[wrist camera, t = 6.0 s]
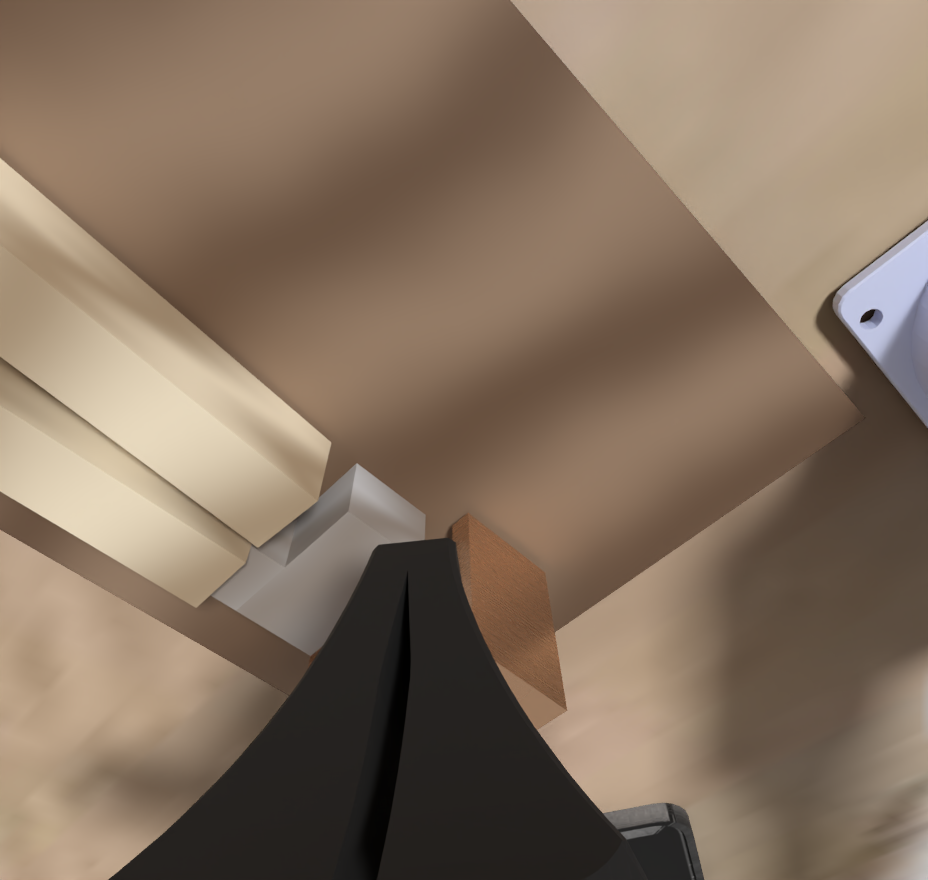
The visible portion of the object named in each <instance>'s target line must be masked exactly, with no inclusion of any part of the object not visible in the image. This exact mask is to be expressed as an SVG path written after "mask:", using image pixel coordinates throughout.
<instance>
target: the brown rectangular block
mask: <svg viewBox="0 0 928 880" xmlns="http://www.w3.org/2000/svg"><path fill="white" fill-rule="evenodd" d="M452 540H453V541H454V542H456V548H457V554H458V560H459V567H460V573H461V579H462V584H463V587H464V591H465V594H466V596H467V599H468V602H469V605H470V607H471V610H472V612H473V614H474V617H475V619H476V622H477V624H478V627H479V629H480V631H481V633H482V635H483V638H484V640H485V642H486V644H487V646H488V648H489V650H490V652H491V654H492V656H493V658H494V660H495V662H496V664H497V666H498V668H499V669H500V671H501V673H502V675H503V677H504V678H505V680H506V682H507V684H508V686H509V687H510V689H511V691H512V692H513V694H514V695H515V697H516V699H517V700H518V702H519V704H520V705H521V707H522V708H523V710H524V712H525V713H526V715H527V716H528V718H529V719H530V721H531V722H532V724H533V725H534V727H535V728H536V730H537V729H539V728H540V727H542V726H544V725H545V724H547V723H548V722H550V721H551V720H553V719H555V718H556V717H558V716H559V715H561V714H562V713H564V712H566V711H567V707H566V701H565V694H564V688H563V682H562V676H561V669H560V663H559V657H558V650H557V644H556V638H555V631H554V625H553V619H552V612H551V606H550V600H549V594H548V587H547V581H546V575H545V572H544V571H543V570H541V569H540V568H539V567H538V566H536V565H535V564H534V563H532V562H531V561H530V560H529V559H527V558H526V557H525V556H523V555H522V554H521V553H520V552H518V551H517V550H516V549H514V548H513V547H512V546H510V545H509V544H508V543H507V542H505V541H504V540H503V539H501V538H500V537H499V536H498V535H496V534H495V533H494V532H492V531H491V530H490V529H489V528H487V527H486V526H485V525H483V524H482V523H481V522H480V521H478V520H477V519H476V518H474V517H473V516H472V515H471V514H469V513H467V514H466V515H465V516H464V517H462V518H461V519H460V520H459V521H458V522H456V523H455V524H454V525H453V526H452ZM321 648H322V647H321ZM321 648H320V649H321ZM320 649H319V650H317V651H316V652H315V653H314V654H312V655H311V656H310V660H309V665H308V668H309V666H310V665H311V663H312V662H313V660H314V659H315V657H316V656H317V654H318V652H319V651H320Z"/></svg>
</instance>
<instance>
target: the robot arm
mask: <svg viewBox="0 0 928 880" xmlns="http://www.w3.org/2000/svg"><path fill="white" fill-rule="evenodd" d="M833 309H834V312H835V314H836V315H837V316H838V318H839V319H840V320H841V321H842V323H843V324H844V325H845V326H846V328H847V329H848V330H849V331H850V332H851V334H852V335H853V336H854V337H855V339H856V340H857V341H858V342H859V344H860V345H861V346H862V347H863V349H864V350H865V351H866V352H867V354H868V355H869V356H870V357H871V359H872V360H873V361H874V362H875V364H876V365H877V366H878V367H879V368H880V370H881V371H882V372H883V373H884V375H885V376H886V377H887V378H888V380H889V381H890V382H891V383H892V385H893V386H894V387H895V388H896V390H897V391H898V392H899V393H900V395H901V396H902V397H903V398H904V399H905V401H906V402H907V403H908V404H909V406H910V407H911V408H912V409H913V411H914V412H915V413H916V414H917V416H918V417H919V418H920V419H921V421H922V422H923V423H924V424H925V426H926V427H927V428H928V221H927V222H925V223H924V224H923V225H921V226H920V227H919V228H918V229H916V230H915V231H914V232H912V233H911V234H910V235H908V236H907V237H906V238H905V239H903V240H902V241H901V242H899V243H898V244H897V245H895V246H894V247H893V248H892V249H890V250H889V251H888V252H886V253H885V254H884V255H882V256H881V257H880V258H879V259H877V260H876V261H875V262H873V263H872V264H871V265H869V266H868V267H867V268H866V269H864V270H863V271H862V272H860V273H859V274H858V275H856V276H855V277H854V278H853V279H851V280H850V281H849V282H847V283H846V284H845V285H843V286H842V287H841V288H840V289H839V291H838V292H837V293H836V295H835V297H834V299H833ZM871 309H875V313H874V315H873V317H872V318H871V319H870V320H868V321H866V322H864V323H860V320H861V317H862V315H863V314H864V313H865V312H867V311H869V310H871ZM109 880H648V879H647V877H646V875H645V873H644V871H643V869H642V867H641V865H640V864H639V862H638V860H637V858H636V856H635V855H634V853H633V851H632V849H631V847H630V845H629V843H628V841H627V840H626V838H625V837H624V836H623V835H622V834H621V833H620V832H619V831H618V829H617V828H616V827H615V826H614V825H613V824H612V823H611V822H610V821H609V820H608V819H607V818H606V817H605V815H604V814H603V813H602V812H601V811H600V810H599V809H598V807H597V806H596V805H595V804H594V803H593V802H592V801H591V800H590V798H589V797H588V796H587V795H586V794H585V792H584V791H583V790H582V789H581V788H580V786H579V785H578V784H577V783H576V781H575V780H574V779H573V778H572V777H571V775H570V774H569V773H568V772H567V770H566V769H565V768H564V766H563V765H562V764H561V762H560V761H559V760H558V758H557V757H556V756H555V754H554V753H553V752H552V750H551V749H550V747H549V746H548V745H547V743H546V742H545V741H544V739H543V738H542V737H541V735H540V734H539V733H538V731H537V730H536V728H535V727H534V725H533V724H532V722H531V721H530V719H529V718H528V716H527V715H526V713H525V712H524V710H523V708H522V707H521V705H520V704H519V702H518V700H517V699H516V697H515V695H514V694H513V692H512V691H511V689H510V687H509V686H508V684H507V682H506V680H505V678H504V677H503V675H502V673H501V671H500V669H499V668H498V666H497V664H496V662H495V660H494V658H493V656H492V654H491V652H490V650H489V648H488V646H487V644H486V642H485V640H484V638H483V635H482V633H481V631H480V629H479V627H478V624H477V622H476V619H475V617H474V614H473V612H472V610H471V607H470V605H469V602H468V599H467V596H466V594H465V591H464V587H463V584H462V579H461V573H460V567H459V560H458V554H457V548H456V542H454V541H453V540H451V539H450V538H439V539H430V540H420V541H410V542H400V543H390V544H380V545H378V546H377V547H376V548H375V549H374V550H373V551H372V554H371V556H370V558H369V561H368V563H367V565H366V567H365V569H364V572H363V574H362V576H361V578H360V580H359V582H358V584H357V586H356V588H355V590H354V592H353V594H352V595H351V597H350V599H349V601H348V603H347V605H346V607H345V609H344V610H343V612H342V614H341V616H340V617H339V619H338V621H337V623H336V624H335V626H334V628H333V630H332V631H331V633H330V635H329V637H328V638H327V640H326V642H325V643H324V645H323V646H322V648H321V649H320V651H319V652H318V654H317V656H316V657H315V659H314V660H313V662H312V663H311V665H310V666H309V668H308V669H307V671H306V672H305V674H304V676H303V677H302V679H301V680H300V681H299V683H298V684H297V686H296V687H295V688H294V690H293V691H292V693H291V694H290V695H289V697H288V698H287V700H286V701H285V702H284V704H283V705H282V706H281V707H280V709H279V710H278V711H277V713H276V714H275V715H274V716H273V718H272V719H271V720H270V722H269V723H268V724H267V725H266V727H265V728H264V729H263V730H262V731H261V733H260V734H259V735H258V736H257V737H256V738H255V740H254V741H253V742H252V743H251V744H250V745H249V747H248V748H247V749H246V750H245V751H244V752H243V754H242V755H241V756H240V757H239V758H238V759H237V760H236V762H235V763H234V764H233V765H232V766H231V767H230V768H229V769H228V770H227V771H226V772H225V774H224V775H223V776H222V777H221V778H220V779H219V780H218V781H217V782H216V783H215V784H214V785H213V786H212V787H211V788H210V789H209V790H208V791H207V792H206V793H205V794H204V795H203V796H202V797H201V798H200V799H199V800H198V801H197V802H196V803H195V804H194V805H193V806H192V807H191V808H190V809H189V810H188V811H187V812H186V813H185V814H184V815H183V816H182V817H181V818H180V819H179V820H177V821H176V822H175V823H174V824H173V825H172V826H171V827H170V828H169V829H168V830H167V831H166V832H165V833H163V834H162V835H161V836H160V837H159V838H158V839H156V840H155V841H154V842H153V843H152V844H150V845H149V846H148V847H147V848H146V849H145V850H143V851H142V852H141V853H140V854H139V855H137V856H136V857H135V858H134V859H133V860H132V861H130V862H129V863H128V864H127V865H126V866H124V867H123V868H122V869H121V870H120V871H119V872H117V873H116V874H115V875H114V876H112V877H111V878H110V879H109Z"/></svg>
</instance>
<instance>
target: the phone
mask: <svg viewBox="0 0 928 880" xmlns="http://www.w3.org/2000/svg"><path fill="white" fill-rule="evenodd" d="M603 814H604V815H605V817H606V818H607V819H608V820H609V821H610V822H611V823H612V824H613V825H614V826H615V827H616V828H617V829H618V831H619V832H620V833H621V834H622V835H623V836H624V837H625V838H626V840H627V841H628V843H629V845H630V847H631V849H632V851H633V853H634V855H635V856H636V858H637V860H638V862H639V864H640V865H641V867H642V869H643V871H644V873H645V875H646V877H647V879H648V880H704V877H703V873H702V869H701V864H700V860H699V856H698V852H697V848H696V844H695V840H694V836H693V832H692V828H691V825H690V821H689V818H688V815H687V813H686V811H685V810H684V809H683V808H681V807H680V806H677V805H674V804H669V803H657V804H650V805H645V806H639V807H634V808H629V809H623V810H618V811H613V812H607V813H603Z"/></svg>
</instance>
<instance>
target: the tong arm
mask: <svg viewBox="0 0 928 880" xmlns="http://www.w3.org/2000/svg"><path fill="white" fill-rule="evenodd" d="M0 357H1V358H3V359H4V360H5V361H7V362H8V363H9V364H11V365H12V366H14V367H15V368H16V369H18V370H19V371H20V372H22V373H23V374H24V375H26V376H27V377H28V378H30V379H31V380H32V381H34V382H35V383H36V384H38V385H39V386H40V387H42V388H43V389H45V390H46V391H47V392H49V393H50V394H51V395H53V396H54V397H55V398H57V399H58V400H59V401H61V402H62V403H63V404H65V405H66V406H67V407H69V408H70V409H71V410H73V411H74V412H76V413H77V414H78V415H80V416H81V417H82V418H84V419H85V420H86V421H88V422H89V423H90V424H92V425H93V426H94V427H96V428H97V429H98V430H100V431H101V432H103V433H104V434H105V435H107V436H108V437H109V438H111V439H112V440H113V441H115V442H116V443H117V444H119V445H120V446H121V447H123V448H124V449H125V450H127V451H128V452H129V453H131V454H132V455H134V456H135V457H136V458H138V459H139V460H140V461H142V462H143V463H144V464H146V465H147V466H148V467H150V468H151V469H152V470H154V471H155V472H156V473H158V474H159V475H160V476H162V477H163V478H165V479H166V480H167V481H169V482H170V483H171V484H173V485H174V486H175V487H177V488H178V489H179V490H181V491H182V492H183V493H185V494H186V495H187V496H189V497H190V498H191V499H193V500H194V501H196V502H197V503H198V504H200V505H201V506H202V507H204V508H205V509H206V510H208V511H209V512H210V513H212V514H213V515H214V516H216V517H217V518H218V519H220V520H221V521H222V522H224V523H225V524H227V525H228V526H229V527H231V528H232V529H233V530H235V531H236V532H237V533H239V534H240V535H241V536H243V537H244V538H245V539H247V540H248V541H249V542H251V543H252V544H253V545H255V546H256V547H260V546H261V545H262V544H264V543H265V542H266V541H267V540H269V539H270V538H271V537H273V536H274V535H275V534H276V533H278V532H279V531H280V530H282V529H283V528H284V527H285V526H287V525H288V524H289V523H290V522H292V521H293V520H294V519H296V518H297V517H298V516H299V515H301V514H302V513H303V512H305V511H306V510H307V509H308V508H310V507H311V506H312V505H314V504H315V503H316V502H317V501H318V499H319V494H320V490H321V486H322V481H323V477H324V473H325V468H326V464H327V460H328V455H329V451H330V447H331V442H330V441H329V440H328V439H327V438H326V437H325V436H323V435H322V434H321V433H320V432H319V431H318V430H316V429H315V428H314V427H313V426H312V425H311V424H309V423H308V422H307V421H306V420H305V419H304V418H302V417H301V416H300V415H299V414H298V413H297V412H295V411H294V410H293V409H292V408H291V407H290V406H288V405H287V404H286V403H285V402H284V401H283V400H281V399H280V398H279V397H278V396H277V395H276V394H274V393H273V392H272V391H271V390H270V389H269V388H267V387H266V386H265V385H264V384H263V383H262V382H260V381H259V380H258V379H257V378H256V377H255V376H253V375H252V374H251V373H250V372H249V371H248V370H247V369H245V368H244V367H243V366H242V365H241V364H240V363H238V362H237V361H236V360H235V359H234V358H233V357H231V356H230V355H229V354H228V353H227V352H226V351H224V350H223V349H222V348H221V347H220V346H219V345H217V344H216V343H215V342H214V341H213V340H212V339H210V338H209V337H208V336H207V335H206V334H205V333H203V332H202V331H201V330H200V329H199V328H198V327H196V326H195V325H194V324H193V323H192V322H191V321H189V320H188V319H187V318H186V317H185V316H184V315H182V314H181V313H180V312H179V311H178V310H177V309H175V308H174V307H173V306H172V305H171V304H170V303H168V302H167V301H166V300H165V299H164V298H163V297H162V296H160V295H159V294H158V293H157V292H156V291H155V290H153V289H152V288H151V287H150V286H149V285H148V284H146V283H145V282H144V281H143V280H142V279H141V278H139V277H138V276H137V275H136V274H135V273H134V272H132V271H131V270H130V269H129V268H128V267H127V266H125V265H124V264H123V263H122V262H121V261H120V260H118V259H117V258H116V257H115V256H114V255H113V254H111V253H110V252H109V251H108V250H107V249H106V248H104V247H103V246H102V245H101V244H100V243H99V242H97V241H96V240H95V239H94V238H93V237H92V236H90V235H89V234H88V233H87V232H86V231H85V230H83V229H82V228H81V227H80V226H79V225H78V224H77V223H75V222H74V221H73V220H72V219H71V218H70V217H68V216H67V215H66V214H65V213H64V212H63V211H61V210H60V209H59V208H58V207H57V206H56V205H54V204H53V203H52V202H51V201H50V200H49V199H47V198H46V197H45V196H44V195H43V194H42V193H40V192H39V191H38V190H37V189H36V188H35V187H33V186H32V185H31V184H30V183H29V182H28V181H26V180H25V179H24V178H23V177H22V176H21V175H19V174H18V173H17V172H16V171H15V170H14V169H12V168H11V167H10V166H9V165H8V164H7V163H5V162H4V161H3V160H2V159H1V158H0Z"/></svg>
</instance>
